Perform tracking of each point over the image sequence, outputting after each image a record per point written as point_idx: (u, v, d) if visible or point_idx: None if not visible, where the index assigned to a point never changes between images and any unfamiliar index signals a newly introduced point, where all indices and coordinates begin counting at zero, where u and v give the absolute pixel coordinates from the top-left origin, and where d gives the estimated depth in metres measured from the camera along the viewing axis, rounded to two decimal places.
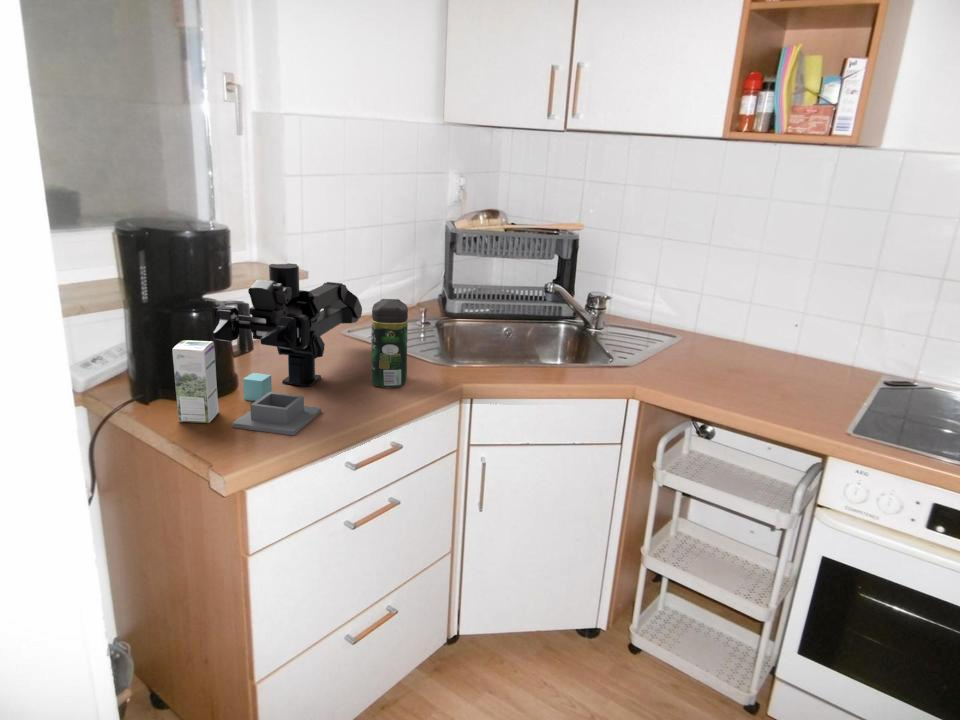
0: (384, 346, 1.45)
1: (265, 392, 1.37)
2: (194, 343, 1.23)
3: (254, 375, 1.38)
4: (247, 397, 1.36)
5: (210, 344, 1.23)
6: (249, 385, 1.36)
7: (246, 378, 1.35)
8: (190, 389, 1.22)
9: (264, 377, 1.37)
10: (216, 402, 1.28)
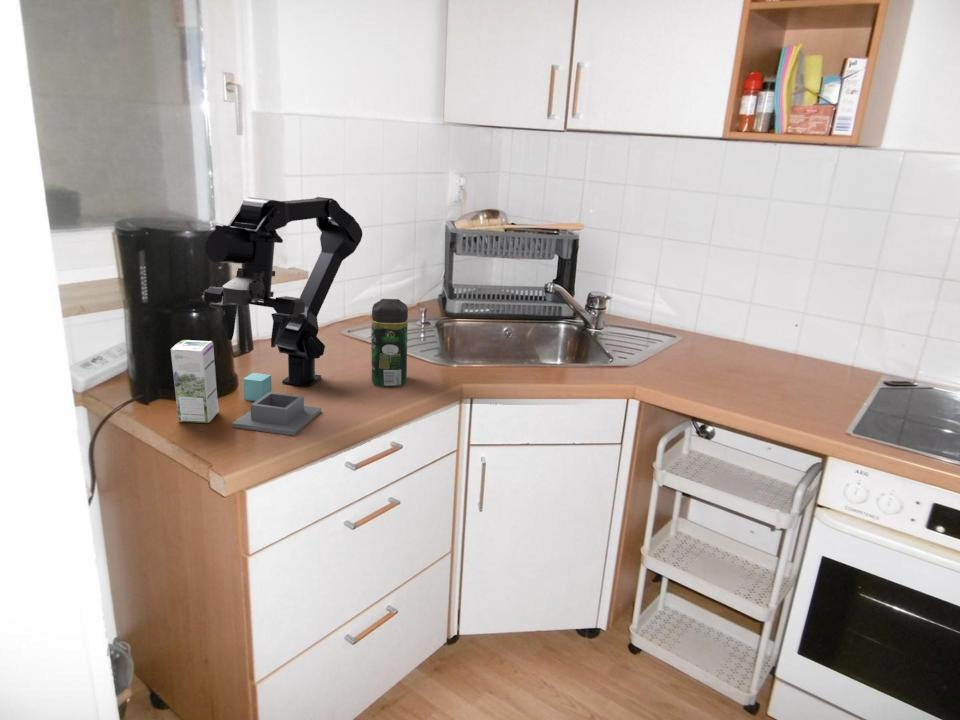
0: (384, 346, 1.45)
1: (265, 392, 1.37)
2: (193, 343, 1.22)
3: (254, 375, 1.38)
4: (247, 397, 1.36)
5: (209, 344, 1.23)
6: (249, 385, 1.36)
7: (246, 378, 1.35)
8: (189, 389, 1.22)
9: (264, 377, 1.37)
10: (216, 401, 1.28)
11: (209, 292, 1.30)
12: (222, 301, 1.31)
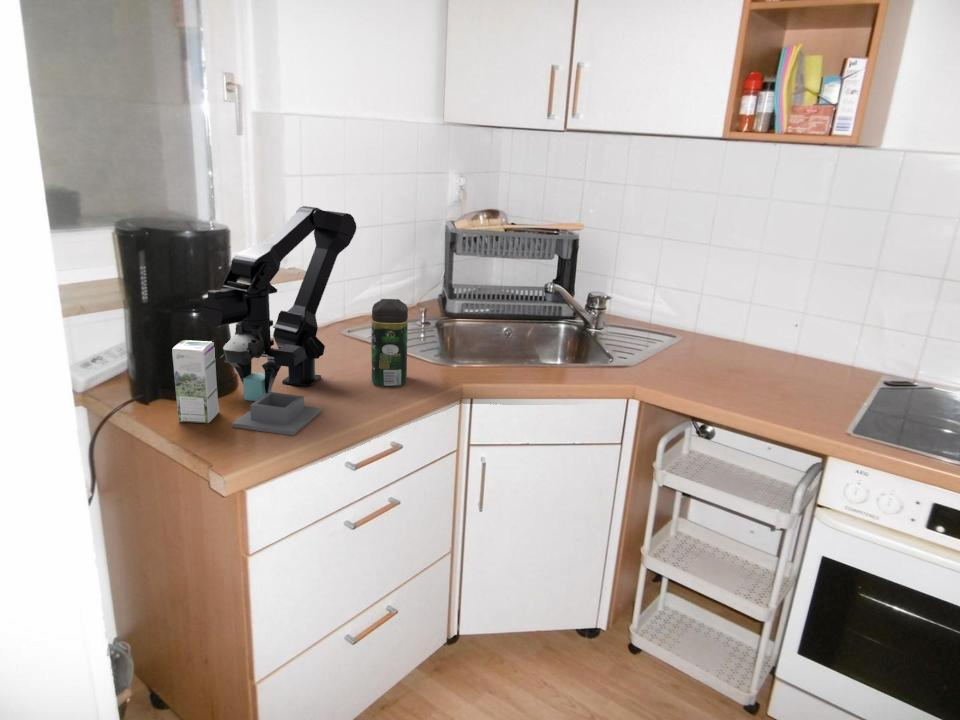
0: (384, 346, 1.45)
1: (265, 392, 1.37)
2: (194, 343, 1.23)
3: (254, 375, 1.38)
4: (247, 397, 1.36)
5: (210, 344, 1.23)
6: (249, 385, 1.35)
7: (246, 378, 1.35)
8: (189, 389, 1.22)
9: (264, 377, 1.37)
10: (216, 402, 1.28)
11: None
12: None
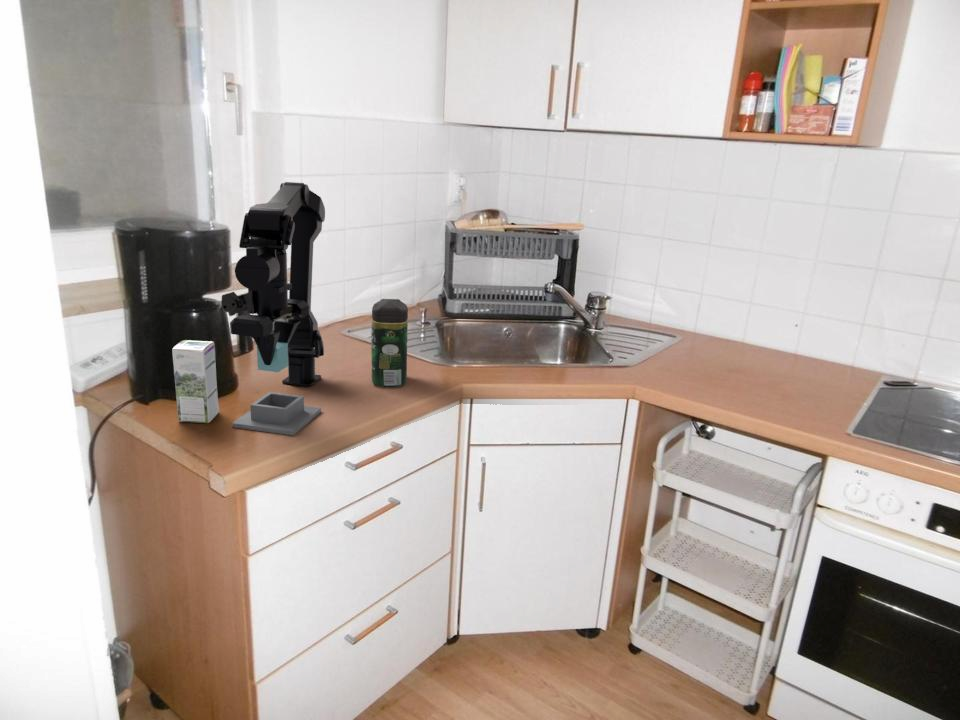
0: (384, 346, 1.45)
1: None
2: (194, 343, 1.23)
3: (277, 343, 1.25)
4: None
5: (210, 344, 1.23)
6: None
7: None
8: (189, 389, 1.22)
9: None
10: (216, 402, 1.28)
11: None
12: None
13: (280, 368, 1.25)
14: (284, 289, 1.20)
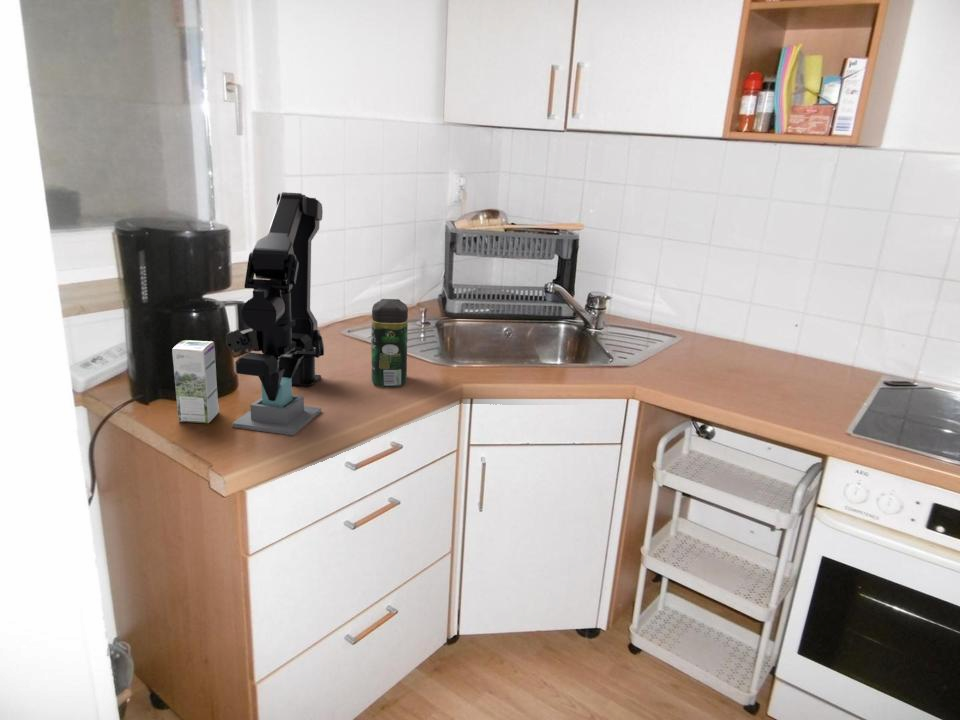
0: (384, 346, 1.45)
1: None
2: (194, 343, 1.23)
3: None
4: None
5: (210, 344, 1.23)
6: None
7: None
8: (189, 389, 1.22)
9: None
10: (216, 402, 1.28)
11: None
12: None
13: (284, 403, 1.26)
14: (288, 326, 1.22)
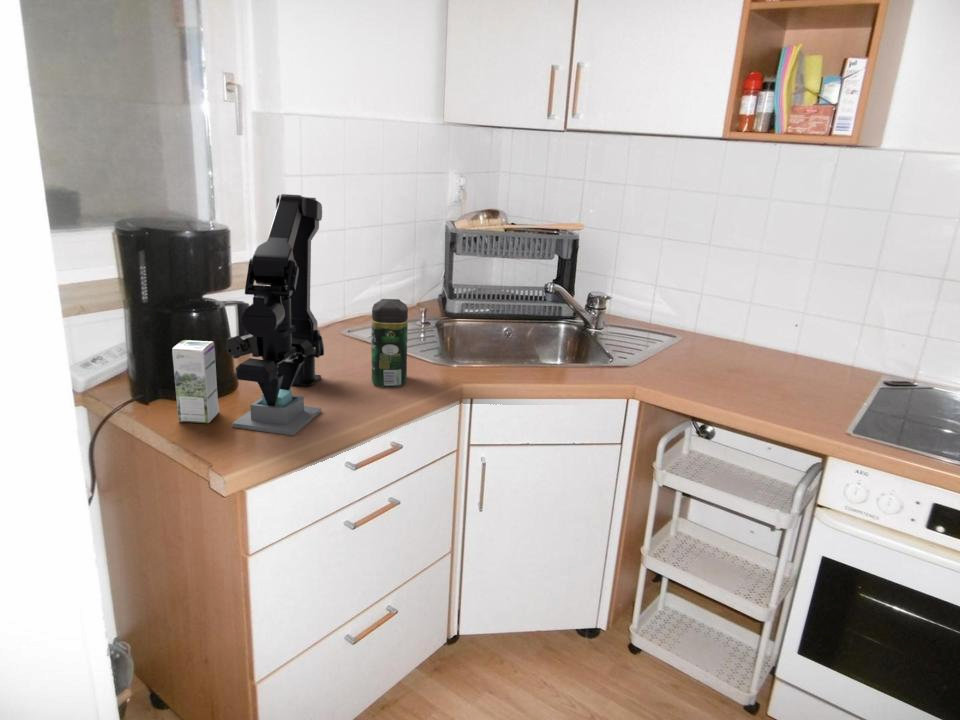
0: (384, 346, 1.45)
1: None
2: (194, 343, 1.23)
3: (282, 391, 1.28)
4: None
5: (210, 344, 1.23)
6: None
7: None
8: (189, 389, 1.22)
9: None
10: (216, 402, 1.28)
11: None
12: None
13: None
14: (288, 332, 1.22)
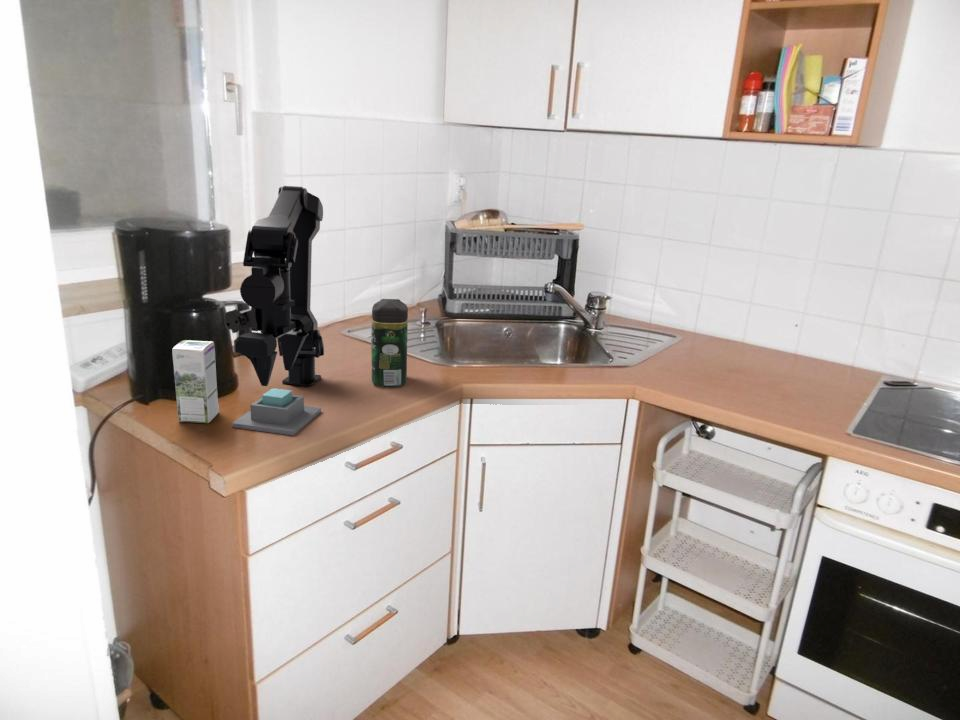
0: (384, 346, 1.45)
1: None
2: (194, 343, 1.23)
3: (282, 391, 1.28)
4: None
5: (210, 344, 1.23)
6: None
7: (272, 389, 1.28)
8: (189, 389, 1.22)
9: (274, 395, 1.25)
10: (216, 402, 1.28)
11: None
12: None
13: None
14: (287, 306, 1.20)
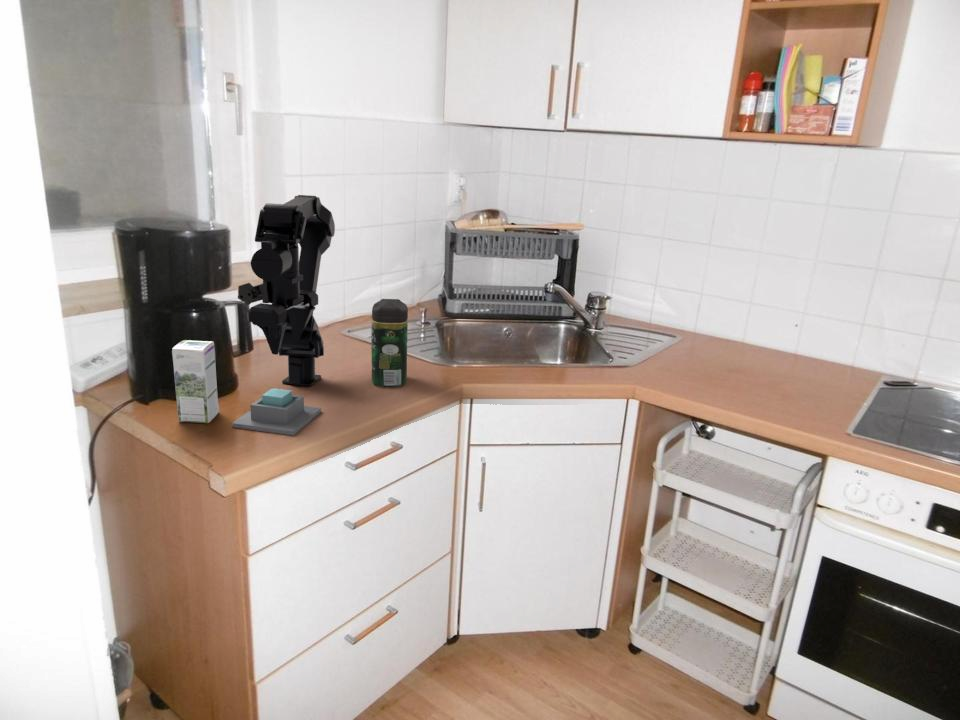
0: (384, 346, 1.45)
1: None
2: (194, 343, 1.23)
3: (282, 391, 1.28)
4: None
5: (210, 344, 1.23)
6: None
7: (272, 389, 1.28)
8: (189, 389, 1.22)
9: (274, 395, 1.25)
10: (216, 402, 1.28)
11: None
12: None
13: None
14: (296, 280, 1.30)
